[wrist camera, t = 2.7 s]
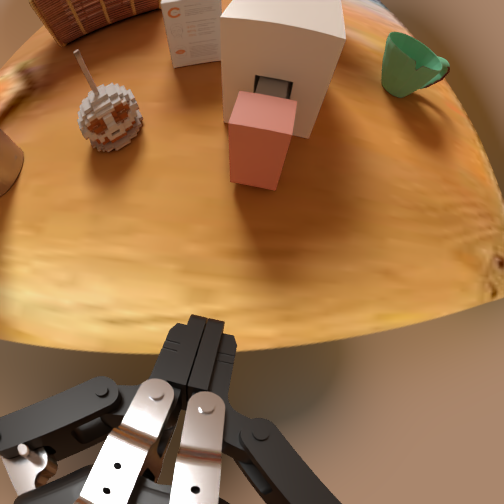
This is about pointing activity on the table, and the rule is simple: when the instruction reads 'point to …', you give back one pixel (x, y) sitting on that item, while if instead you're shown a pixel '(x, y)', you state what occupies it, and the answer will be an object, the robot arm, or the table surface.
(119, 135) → the decorative ornament
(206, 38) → the small box
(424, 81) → the mug
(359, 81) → the table surface
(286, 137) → the key
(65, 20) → the picnic basket
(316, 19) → the box
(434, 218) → the table surface
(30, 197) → the table surface
